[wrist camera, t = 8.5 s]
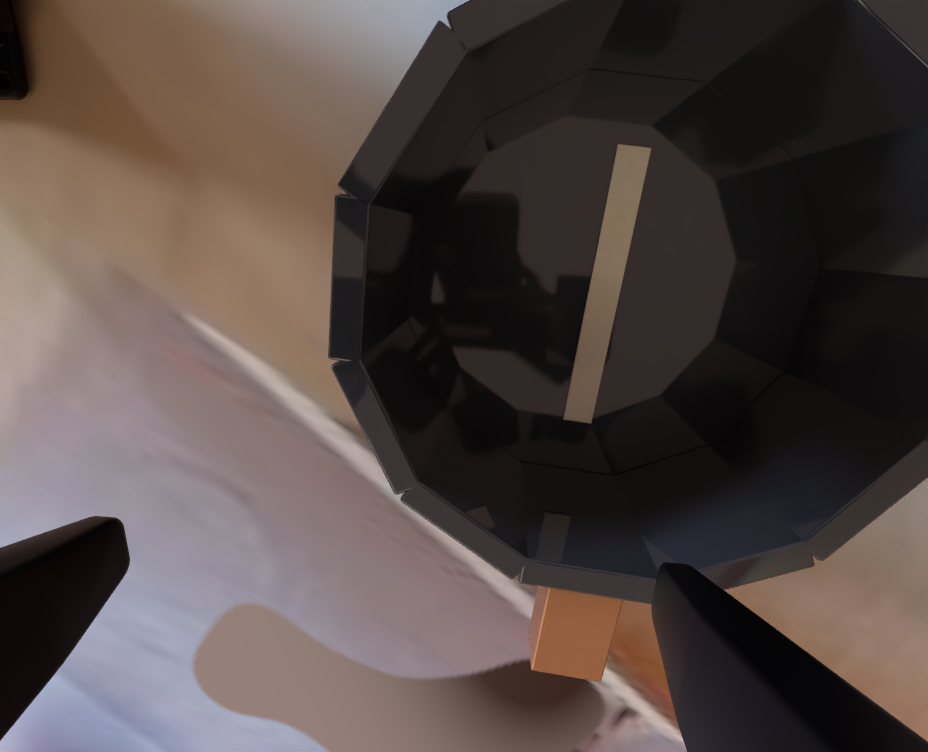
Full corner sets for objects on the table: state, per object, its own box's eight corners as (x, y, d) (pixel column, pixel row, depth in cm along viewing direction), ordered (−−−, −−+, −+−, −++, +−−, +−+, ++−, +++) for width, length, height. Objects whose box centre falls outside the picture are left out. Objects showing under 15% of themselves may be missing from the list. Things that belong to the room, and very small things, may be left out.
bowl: (725, 570, 19) (830, 728, 13) (374, 514, 20) (315, 640, 13) (891, 81, 14) (1193, -41, 8) (413, 27, 15) (347, -123, 8)
